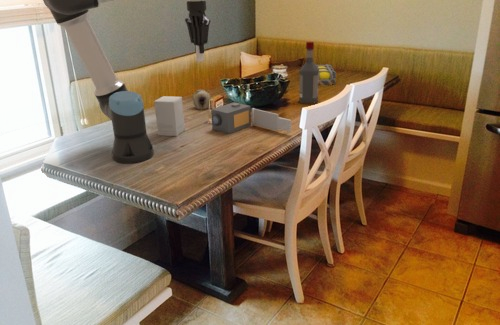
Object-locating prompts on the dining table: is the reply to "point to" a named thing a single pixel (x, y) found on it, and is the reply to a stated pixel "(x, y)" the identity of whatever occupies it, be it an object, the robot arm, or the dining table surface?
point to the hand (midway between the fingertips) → (200, 61)
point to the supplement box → (169, 115)
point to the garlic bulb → (201, 99)
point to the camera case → (231, 117)
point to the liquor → (309, 78)
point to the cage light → (326, 75)
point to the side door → (270, 120)
